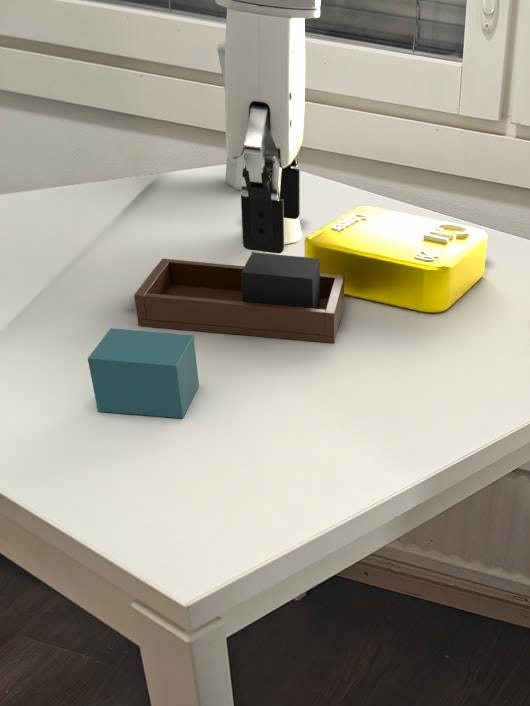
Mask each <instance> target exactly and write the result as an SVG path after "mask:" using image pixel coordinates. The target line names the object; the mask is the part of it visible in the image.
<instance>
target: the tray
mask: <svg viewBox="0 0 530 706" xmlns="http://www.w3.org/2000/svg"><path fill="white" fill-rule="evenodd" d="M244 266H245V265H236V264H235V265H234V264H224V263H214V262H213V263H212V262H203V261H193V260H181V259H171V258H164V257H163V258H161V259H160V261H159V262H158V263H157V265H156V266H155V267H154V268H153V269H152V271H151V273H149V275H148V276H147V277H146V279H145V280H144V281H143V283H142V284H141V285H140V287H139V288H138V289H137V291H136V292H135V293H134V294H133V299H134V305H135V312H136V319H137V325H138V326H139V327H147V328H148V327H150V328H159V329H160V328H161V329H171V330H183V331H195V332H205V333H206V332H207V333H218V334H226V335H227V334H229V335H239V336H240V335H241V336H249V337H261V338H262V337H263V338H272V339H273V338H274V339H283V340H284V339H285V340H296V341H306V342H307V341H308V342H317V343H330V344H335V342H336V337H337V334H338V329H339V326H340V322H341V319H342V314H343V309H344V307H345V294H344V276H341V275H330V274H320V305H319V308H318V309H314V308H303V307H292V306H281V305H270V304H259V303H248V302H243V294H242V279H241V272H242V270H243V268H244Z"/></svg>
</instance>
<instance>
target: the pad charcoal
mask: <svg viewBox="0 0 530 706" xmlns="http://www.w3.org/2000/svg"><path fill="white" fill-rule="evenodd" d="M243 266H244V268H243V270H242V272H241V279H242V294H243V302H248V303H259V304H270V305H281V306H292V307H303V308H314V309H318V308H319V305H320V259H318V258H307V257H305V256H295V255H286V254H285V255H284V254H277V253H267V252H257V251H252V252H251V254H250V256H249V257H248V259H247V261H246V263H245V265H243Z"/></svg>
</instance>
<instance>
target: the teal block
mask: <svg viewBox="0 0 530 706" xmlns="http://www.w3.org/2000/svg"><path fill="white" fill-rule="evenodd" d="M87 363H88V368H89V372H90V378H91V382H92V388H93V394H94V400H95V405H96V410H97V412H99V413H102V412H103V413H110V414H111V413H112V414H124V415H137V416H147V417H148V416H149V417H163V418H172V419H173V418H175V419H184V417H185V415H186V412H187V411H188V410H189V409H188V408H189V407H190V405H191V403H192V401H193V399H194V397H195V395H196V393H197V392H198V391H197V390H198V389H199V387H200V382H199V373H198V364H197V354H196V344H195V336H194V334H193V335H192V334H181V333H172V332H171V333H170V332H159V331H149V330H135V329H124V328H115V327H114V328H113V327H111V328H109V330H108V331H107V332H106V333H105V335H104V336H103V338H102V339H101V340H100V341H99V343H98V344H97V346H96V347H95V348H94V349H93V350H92V352H91V353H90V355H89V356H88V357H87Z"/></svg>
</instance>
